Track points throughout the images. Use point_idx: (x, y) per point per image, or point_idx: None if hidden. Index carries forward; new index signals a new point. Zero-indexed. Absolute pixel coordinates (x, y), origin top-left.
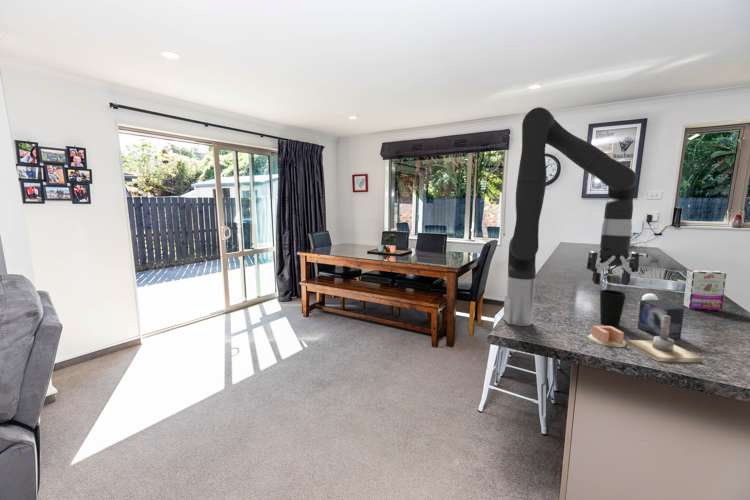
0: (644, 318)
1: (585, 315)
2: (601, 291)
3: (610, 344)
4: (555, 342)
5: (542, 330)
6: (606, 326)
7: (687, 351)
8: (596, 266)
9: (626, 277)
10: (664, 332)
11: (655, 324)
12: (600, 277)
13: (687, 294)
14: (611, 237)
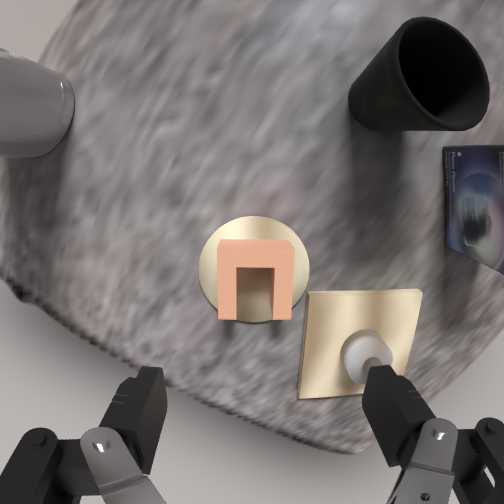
0: (467, 175)
1: (339, 9)
2: (403, 33)
3: (238, 312)
4: (84, 288)
5: (79, 185)
6: (270, 255)
7: (405, 358)
8: (104, 483)
9: (380, 444)
10: None
11: (464, 222)
12: (155, 447)
13: None
14: None
